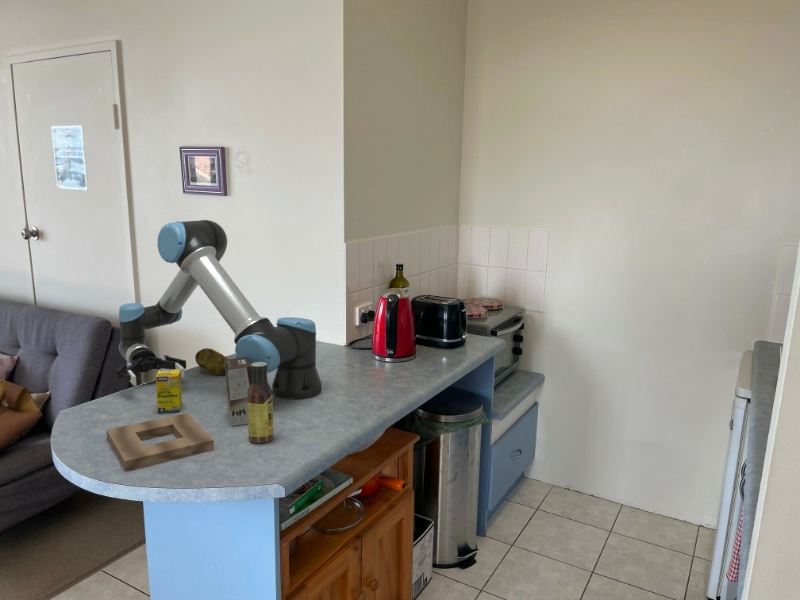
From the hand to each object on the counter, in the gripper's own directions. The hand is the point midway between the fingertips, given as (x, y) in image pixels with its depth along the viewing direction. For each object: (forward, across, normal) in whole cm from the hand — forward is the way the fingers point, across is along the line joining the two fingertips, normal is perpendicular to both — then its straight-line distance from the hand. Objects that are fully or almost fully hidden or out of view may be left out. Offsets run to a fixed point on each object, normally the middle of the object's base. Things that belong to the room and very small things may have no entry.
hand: (159, 376), depth 175 cm
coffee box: (+27, -14, -7) cm, 31 cm away
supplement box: (+10, 0, -7) cm, 12 cm away
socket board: (+31, +8, -7) cm, 33 cm away
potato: (-14, -21, -7) cm, 27 cm away
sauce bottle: (+42, -14, -7) cm, 44 cm away
